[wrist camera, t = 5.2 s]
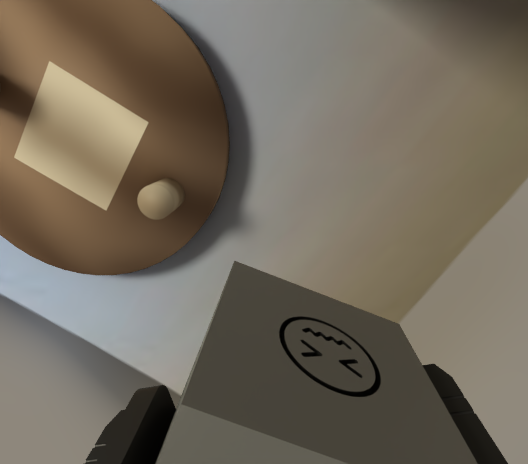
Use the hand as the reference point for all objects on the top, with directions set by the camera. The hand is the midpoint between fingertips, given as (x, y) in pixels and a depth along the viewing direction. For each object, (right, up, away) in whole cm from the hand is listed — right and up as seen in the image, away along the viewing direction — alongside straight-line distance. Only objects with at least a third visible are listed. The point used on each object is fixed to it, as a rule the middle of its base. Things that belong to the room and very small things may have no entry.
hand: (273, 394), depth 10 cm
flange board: (-11, +11, +12) cm, 20 cm away
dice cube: (0, +1, +1) cm, 1 cm away
